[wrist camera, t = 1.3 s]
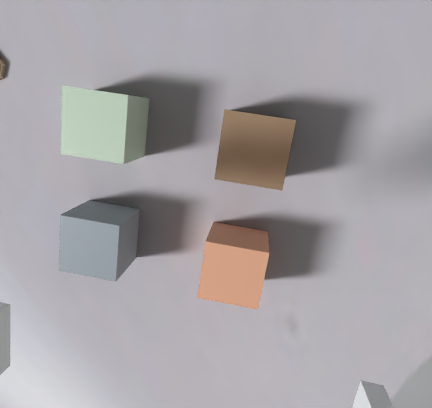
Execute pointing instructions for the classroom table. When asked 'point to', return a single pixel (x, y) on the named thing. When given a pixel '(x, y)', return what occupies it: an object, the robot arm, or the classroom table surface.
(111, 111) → the sage block
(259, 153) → the walnut block
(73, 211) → the slate block
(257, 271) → the terracotta block
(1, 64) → the decorative fence
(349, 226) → the classroom table surface
